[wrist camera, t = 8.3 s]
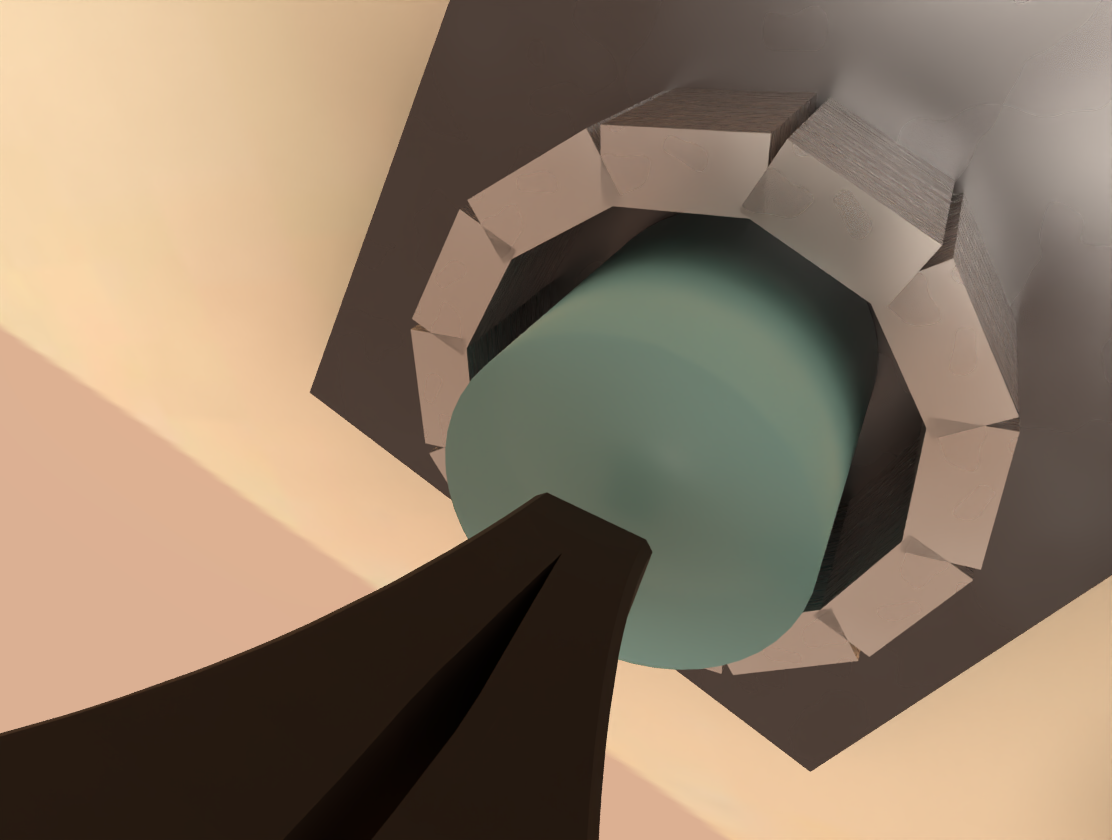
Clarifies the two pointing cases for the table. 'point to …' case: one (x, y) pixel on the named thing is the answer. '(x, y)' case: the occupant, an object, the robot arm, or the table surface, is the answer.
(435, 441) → the square base ring holder
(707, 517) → the teal rounded cylinder
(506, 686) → the robot arm
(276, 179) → the table surface
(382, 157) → the table surface
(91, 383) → the table surface
